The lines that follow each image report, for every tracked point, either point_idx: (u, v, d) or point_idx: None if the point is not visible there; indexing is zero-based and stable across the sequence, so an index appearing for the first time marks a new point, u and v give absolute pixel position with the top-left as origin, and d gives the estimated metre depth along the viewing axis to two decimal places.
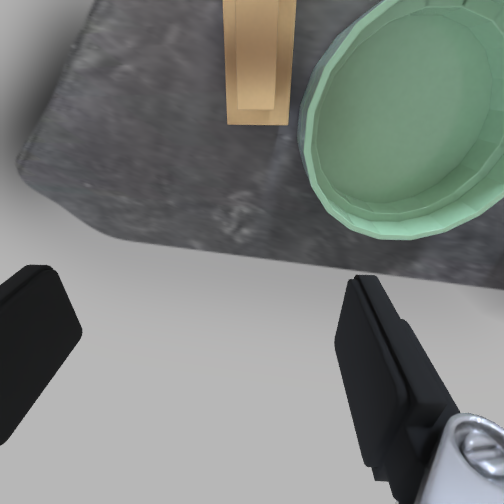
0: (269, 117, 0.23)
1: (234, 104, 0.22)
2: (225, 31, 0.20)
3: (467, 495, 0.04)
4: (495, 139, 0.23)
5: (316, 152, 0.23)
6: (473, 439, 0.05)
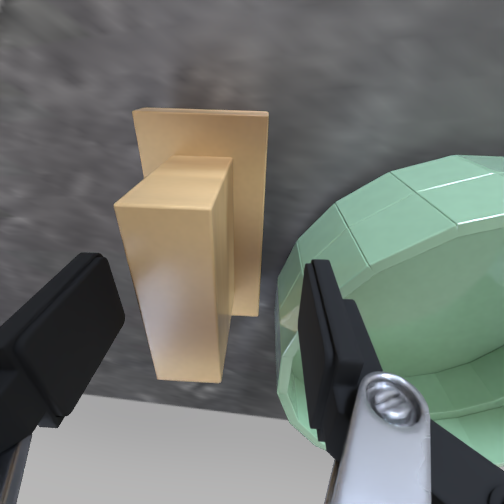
0: None
1: None
2: None
3: (378, 443, 0.05)
4: None
5: (300, 354, 0.16)
6: (381, 393, 0.05)
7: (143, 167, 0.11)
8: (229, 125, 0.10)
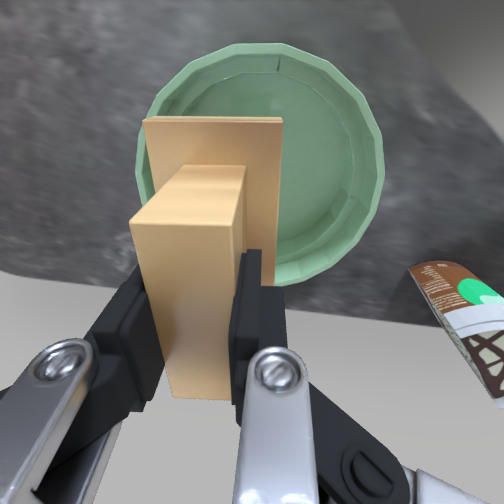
0: None
1: None
2: None
3: (269, 413, 0.05)
4: (347, 190, 0.23)
5: None
6: (268, 367, 0.06)
7: (153, 177, 0.11)
8: (242, 132, 0.10)
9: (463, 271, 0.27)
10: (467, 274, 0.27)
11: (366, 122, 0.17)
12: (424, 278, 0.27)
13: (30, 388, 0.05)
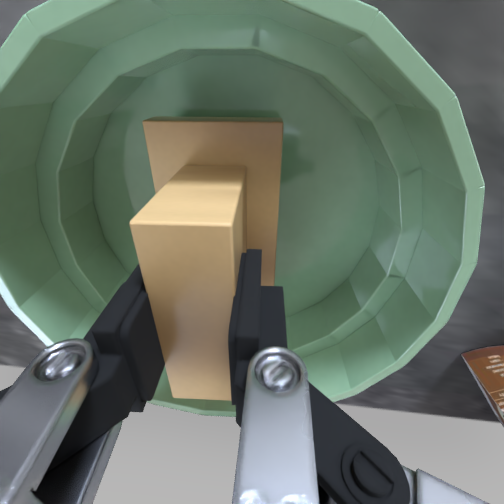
0: None
1: None
2: None
3: (269, 413, 0.05)
4: (384, 261, 0.13)
5: (85, 279, 0.14)
6: (268, 367, 0.06)
7: (154, 177, 0.11)
8: (242, 133, 0.10)
9: None
10: None
11: (454, 158, 0.07)
12: (492, 379, 0.18)
13: (30, 388, 0.05)
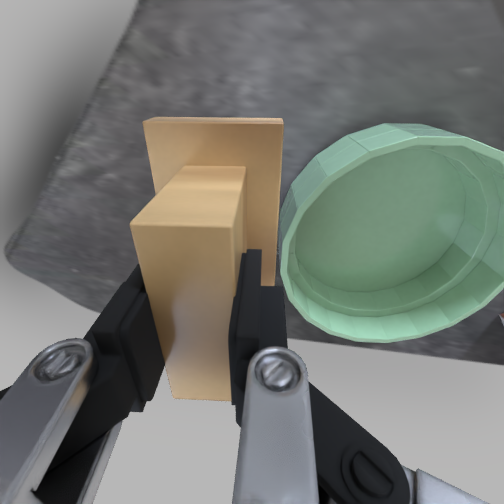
0: None
1: None
2: None
3: (268, 414, 0.05)
4: (468, 251, 0.23)
5: (295, 260, 0.24)
6: (268, 367, 0.06)
7: (154, 178, 0.11)
8: (243, 133, 0.10)
9: None
10: None
11: None
12: None
13: (30, 388, 0.05)
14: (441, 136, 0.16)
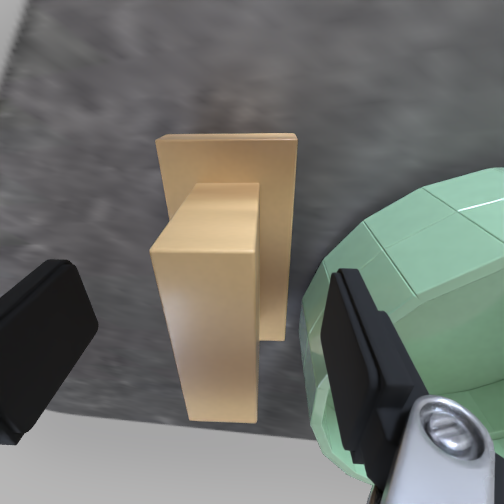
0: None
1: None
2: None
3: (432, 472, 0.04)
4: None
5: None
6: (437, 418, 0.05)
7: (166, 195, 0.11)
8: (256, 150, 0.10)
9: None
10: None
11: None
12: None
13: None
14: None
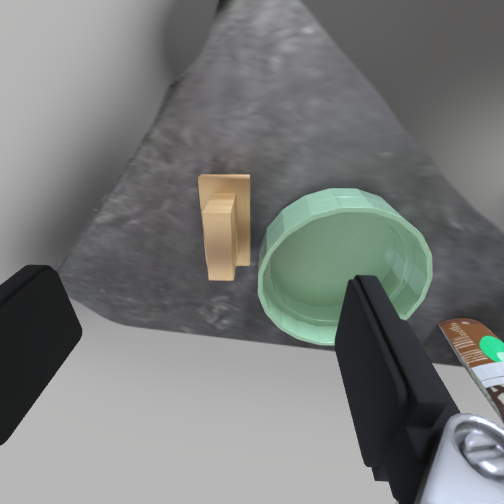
0: (236, 261, 0.32)
1: None
2: (202, 215, 0.29)
3: (467, 495, 0.04)
4: (399, 276, 0.31)
5: (270, 284, 0.32)
6: (473, 439, 0.05)
7: (200, 198, 0.28)
8: (234, 181, 0.27)
9: (482, 328, 0.36)
10: (485, 331, 0.35)
11: (422, 248, 0.26)
12: (452, 333, 0.36)
13: None
14: (357, 206, 0.24)
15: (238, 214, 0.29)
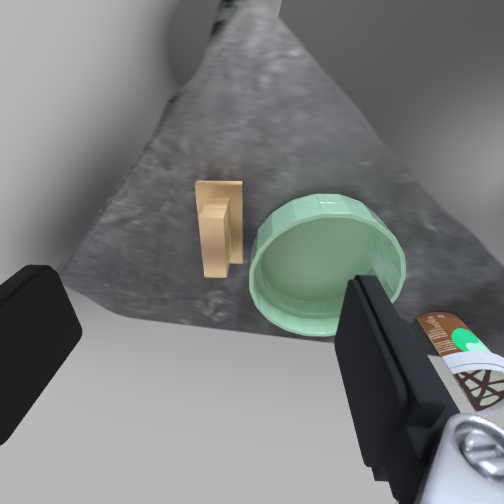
0: (230, 259, 0.34)
1: None
2: None
3: (467, 495, 0.04)
4: (378, 274, 0.34)
5: (261, 280, 0.35)
6: (473, 439, 0.05)
7: (196, 202, 0.31)
8: (228, 188, 0.30)
9: (455, 321, 0.39)
10: (458, 324, 0.38)
11: (396, 249, 0.29)
12: (428, 326, 0.39)
13: None
14: (337, 212, 0.27)
15: (231, 217, 0.31)
